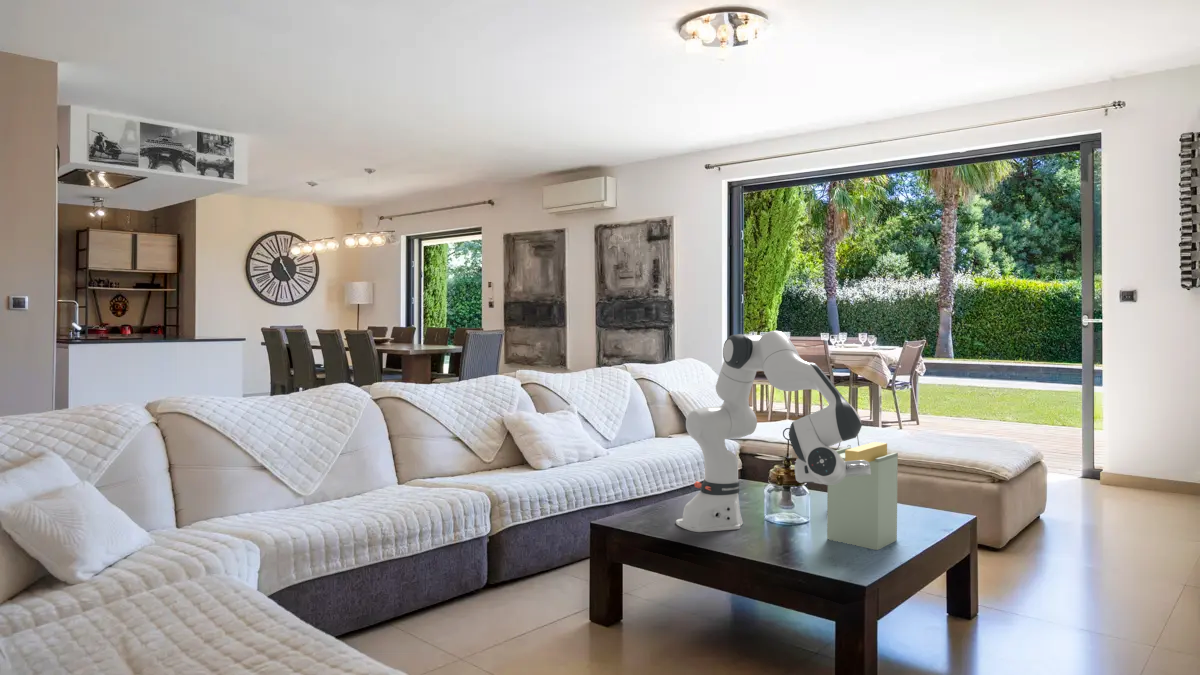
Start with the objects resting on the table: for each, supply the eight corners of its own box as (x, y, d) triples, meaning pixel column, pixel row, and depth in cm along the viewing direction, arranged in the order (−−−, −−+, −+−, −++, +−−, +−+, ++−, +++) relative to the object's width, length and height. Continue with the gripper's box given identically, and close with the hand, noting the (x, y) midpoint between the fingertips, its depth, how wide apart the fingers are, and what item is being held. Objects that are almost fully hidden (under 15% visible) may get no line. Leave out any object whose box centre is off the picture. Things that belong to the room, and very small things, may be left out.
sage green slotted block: (877, 550, 228) (878, 459, 228) (827, 539, 239) (827, 452, 239) (896, 540, 239) (897, 452, 238) (847, 530, 249) (848, 447, 249)
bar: (858, 465, 223) (858, 451, 223) (845, 463, 226) (845, 450, 226) (887, 456, 238) (887, 443, 237) (874, 454, 240) (874, 441, 240)
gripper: (868, 453, 205) (871, 459, 218) (790, 459, 213) (797, 465, 225) (871, 477, 203) (874, 482, 216) (792, 482, 211) (800, 487, 223)
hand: (834, 473), depth 220 cm, fingers open, 8 cm apart
